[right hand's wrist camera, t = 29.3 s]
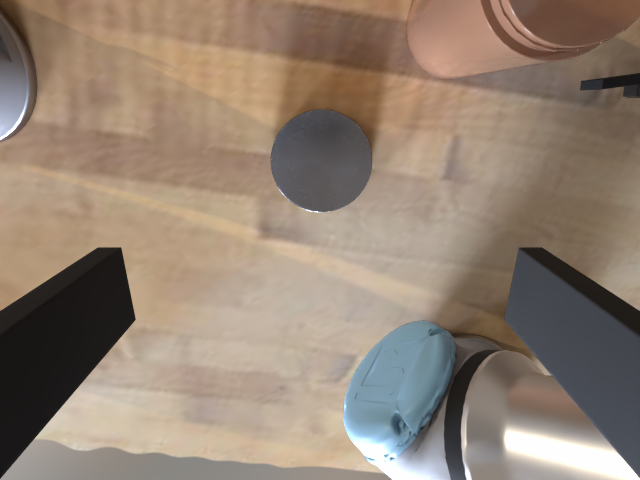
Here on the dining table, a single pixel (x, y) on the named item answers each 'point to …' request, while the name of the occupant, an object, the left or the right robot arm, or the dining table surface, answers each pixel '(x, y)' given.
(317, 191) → the lid
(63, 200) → the dining table surface
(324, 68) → the dining table surface
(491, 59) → the jar
